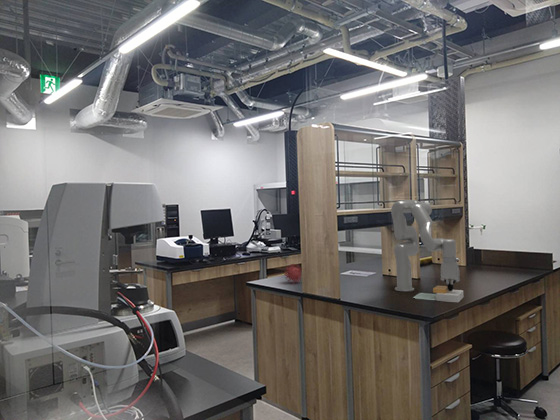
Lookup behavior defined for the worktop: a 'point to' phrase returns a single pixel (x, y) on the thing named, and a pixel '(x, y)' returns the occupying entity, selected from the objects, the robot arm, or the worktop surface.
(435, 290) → the slide box
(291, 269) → the virus model
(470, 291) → the worktop surface
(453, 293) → the platform
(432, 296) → the mat
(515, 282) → the worktop surface
